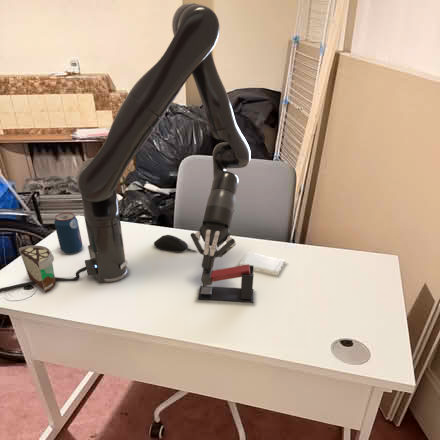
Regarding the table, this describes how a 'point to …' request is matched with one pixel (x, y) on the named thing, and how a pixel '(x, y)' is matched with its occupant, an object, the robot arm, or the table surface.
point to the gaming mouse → (171, 244)
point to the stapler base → (230, 291)
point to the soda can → (68, 233)
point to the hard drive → (263, 263)
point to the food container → (39, 266)
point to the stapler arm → (224, 274)
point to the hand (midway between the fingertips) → (206, 270)
